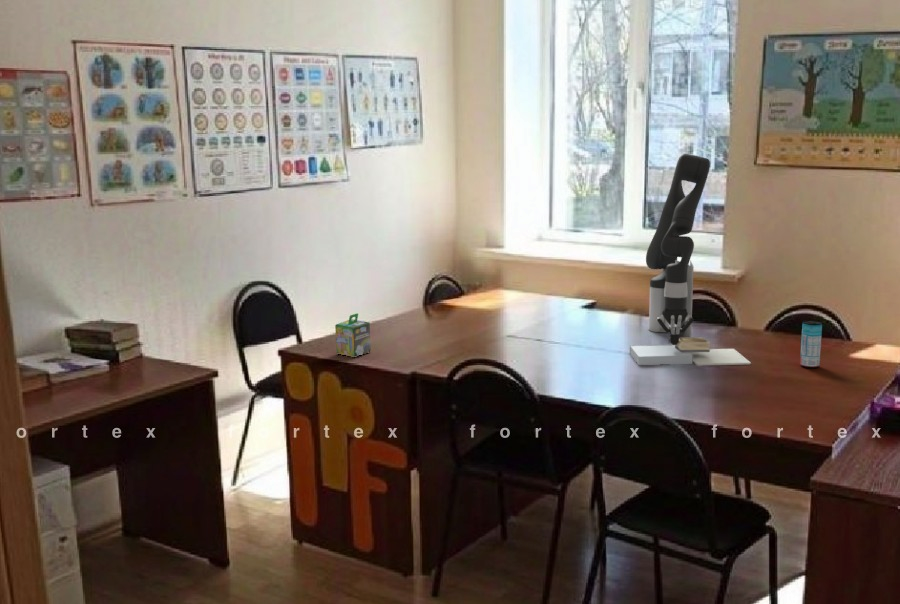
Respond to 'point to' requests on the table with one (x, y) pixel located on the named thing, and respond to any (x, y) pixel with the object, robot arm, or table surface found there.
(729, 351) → the mat
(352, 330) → the chalk box
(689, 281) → the grey panel
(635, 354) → the large white box
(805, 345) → the beverage can
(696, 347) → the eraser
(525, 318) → the table surface
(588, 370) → the table surface
